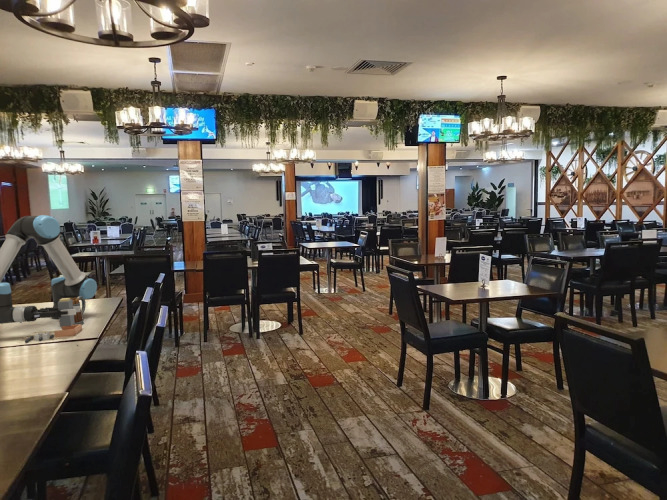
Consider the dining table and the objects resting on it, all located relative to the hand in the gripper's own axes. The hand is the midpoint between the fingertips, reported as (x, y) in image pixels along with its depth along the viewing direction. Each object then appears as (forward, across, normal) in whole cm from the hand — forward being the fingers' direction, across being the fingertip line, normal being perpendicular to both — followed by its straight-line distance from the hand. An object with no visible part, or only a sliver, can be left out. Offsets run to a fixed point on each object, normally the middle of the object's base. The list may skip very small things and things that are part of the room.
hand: (77, 310), depth 238 cm
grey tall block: (-5, 0, -7) cm, 9 cm away
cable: (-15, +7, -11) cm, 20 cm away
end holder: (-5, 0, -11) cm, 12 cm away
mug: (-9, -20, -13) cm, 25 cm away
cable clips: (-14, +6, -11) cm, 19 cm away
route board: (-13, 0, -13) cm, 18 cm away
